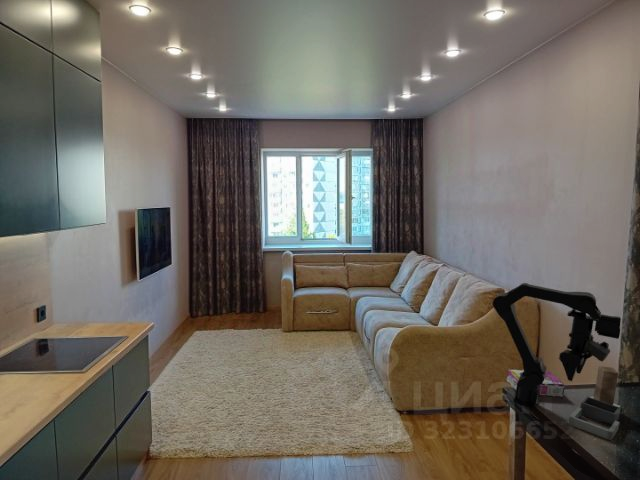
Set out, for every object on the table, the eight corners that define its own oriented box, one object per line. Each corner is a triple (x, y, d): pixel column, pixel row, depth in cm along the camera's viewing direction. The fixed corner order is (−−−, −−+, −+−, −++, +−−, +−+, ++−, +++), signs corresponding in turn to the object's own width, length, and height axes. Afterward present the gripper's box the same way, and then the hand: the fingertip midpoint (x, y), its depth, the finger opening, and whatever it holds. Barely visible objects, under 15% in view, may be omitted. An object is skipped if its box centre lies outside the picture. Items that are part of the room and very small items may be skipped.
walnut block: (598, 407, 160) (604, 371, 158) (593, 400, 165) (598, 365, 163) (612, 409, 160) (618, 373, 158) (606, 402, 164) (612, 367, 162)
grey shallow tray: (568, 423, 149) (569, 416, 149) (576, 414, 156) (578, 407, 156) (611, 440, 141) (612, 432, 141) (618, 429, 148) (619, 422, 147)
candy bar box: (565, 384, 167) (520, 382, 167) (563, 397, 168) (518, 395, 167) (550, 370, 178) (507, 368, 178) (548, 383, 179) (505, 381, 178)
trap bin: (579, 413, 156) (581, 402, 156) (585, 407, 161) (587, 396, 161) (613, 426, 150) (615, 414, 149) (618, 419, 155) (620, 407, 154)
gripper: (602, 345, 139) (594, 394, 142) (616, 332, 153) (609, 377, 155) (562, 334, 147) (555, 381, 149) (579, 323, 161) (572, 366, 163)
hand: (574, 376), depth 154 cm, fingers open, 9 cm apart
